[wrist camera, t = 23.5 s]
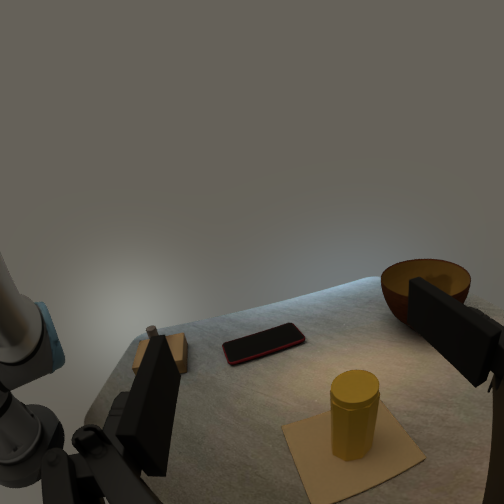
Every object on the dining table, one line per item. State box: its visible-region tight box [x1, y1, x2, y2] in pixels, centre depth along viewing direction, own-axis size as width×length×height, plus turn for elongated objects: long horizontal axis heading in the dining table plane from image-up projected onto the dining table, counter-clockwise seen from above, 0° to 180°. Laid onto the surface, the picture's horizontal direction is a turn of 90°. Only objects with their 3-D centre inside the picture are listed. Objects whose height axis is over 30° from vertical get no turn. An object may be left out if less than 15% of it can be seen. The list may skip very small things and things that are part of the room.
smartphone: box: [222, 323, 305, 365], centre depth 54 cm, size 7×1×15 cm
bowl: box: [381, 259, 471, 329], centre depth 47 cm, size 18×18×10 cm
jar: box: [330, 370, 380, 461], centre depth 26 cm, size 5×5×11 cm
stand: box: [132, 326, 188, 375], centre depth 52 cm, size 10×10×8 cm
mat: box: [281, 399, 426, 504], centre depth 28 cm, size 14×14×1 cm
